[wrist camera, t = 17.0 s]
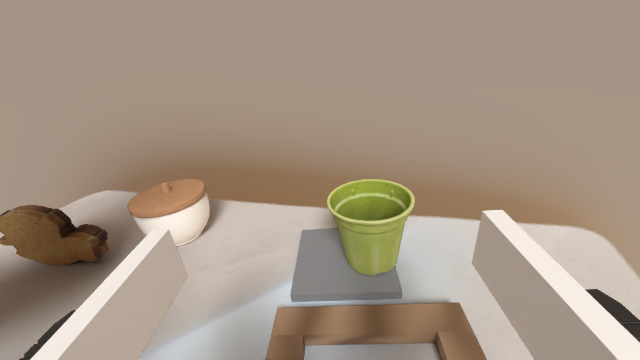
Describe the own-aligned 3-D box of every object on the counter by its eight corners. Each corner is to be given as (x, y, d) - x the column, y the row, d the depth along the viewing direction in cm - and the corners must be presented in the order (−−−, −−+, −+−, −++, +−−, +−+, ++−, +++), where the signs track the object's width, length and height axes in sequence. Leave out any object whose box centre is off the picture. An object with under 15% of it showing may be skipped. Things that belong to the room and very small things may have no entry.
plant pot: (396, 300, 28) (397, 231, 25) (319, 271, 33) (310, 209, 30) (420, 246, 35) (424, 186, 32) (353, 228, 40) (350, 174, 36)
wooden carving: (128, 248, 44) (100, 192, 39) (106, 269, 39) (72, 209, 35) (34, 252, 45) (-3, 199, 41) (3, 273, 41) (-41, 216, 37)
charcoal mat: (291, 301, 31) (290, 295, 30) (303, 235, 42) (302, 230, 41) (401, 298, 30) (401, 291, 29) (384, 231, 40) (384, 225, 40)
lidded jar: (195, 211, 52) (179, 165, 48) (230, 226, 46) (215, 175, 42) (135, 243, 44) (110, 191, 40) (168, 266, 38) (142, 209, 34)
